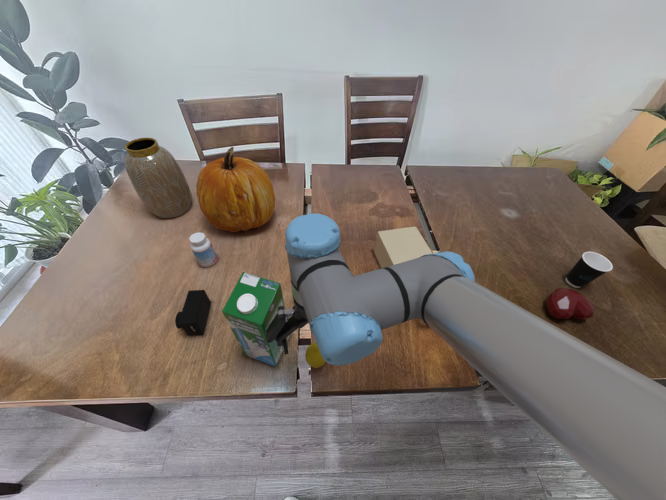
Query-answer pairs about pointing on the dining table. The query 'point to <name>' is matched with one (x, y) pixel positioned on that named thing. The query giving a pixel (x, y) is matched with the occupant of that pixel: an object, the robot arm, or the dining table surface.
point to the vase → (157, 178)
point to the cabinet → (399, 246)
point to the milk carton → (255, 316)
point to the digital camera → (194, 313)
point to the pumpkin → (235, 193)
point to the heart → (569, 304)
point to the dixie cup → (588, 269)
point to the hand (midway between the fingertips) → (315, 342)
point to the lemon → (314, 356)
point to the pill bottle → (202, 249)
